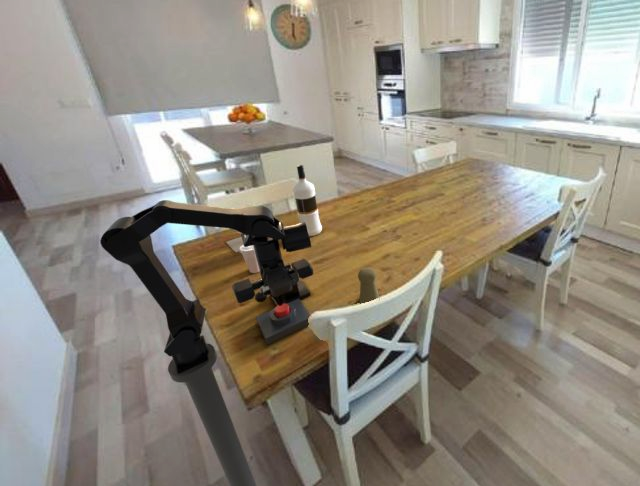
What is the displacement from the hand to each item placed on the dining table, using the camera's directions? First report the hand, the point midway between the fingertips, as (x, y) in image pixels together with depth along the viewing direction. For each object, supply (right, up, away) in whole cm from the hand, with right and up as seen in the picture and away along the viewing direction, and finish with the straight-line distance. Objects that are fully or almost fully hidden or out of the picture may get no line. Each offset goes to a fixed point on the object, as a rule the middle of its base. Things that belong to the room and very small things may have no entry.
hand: (280, 304), depth 87 cm
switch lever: (-5, +2, +10) cm, 11 cm away
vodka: (-9, +15, +52) cm, 55 cm away
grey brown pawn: (+23, -2, +11) cm, 25 cm away
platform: (-32, +12, +47) cm, 58 cm away
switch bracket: (-3, -1, +13) cm, 14 cm away
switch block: (0, -6, +3) cm, 6 cm away
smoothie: (-20, +4, +27) cm, 34 cm away
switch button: (0, -3, +1) cm, 3 cm away
